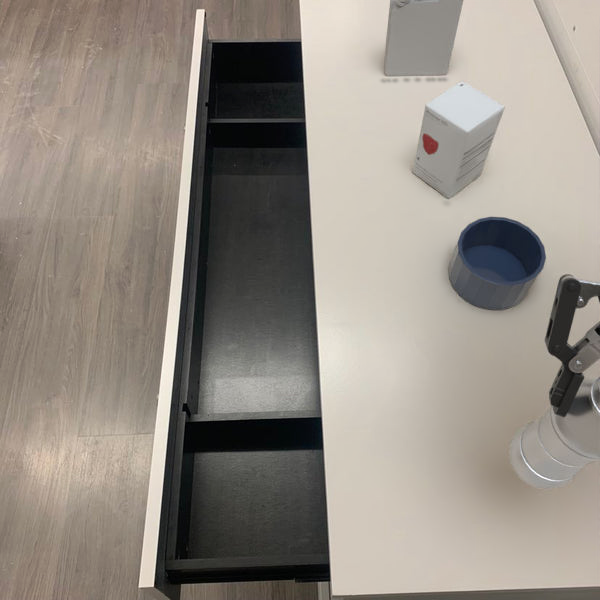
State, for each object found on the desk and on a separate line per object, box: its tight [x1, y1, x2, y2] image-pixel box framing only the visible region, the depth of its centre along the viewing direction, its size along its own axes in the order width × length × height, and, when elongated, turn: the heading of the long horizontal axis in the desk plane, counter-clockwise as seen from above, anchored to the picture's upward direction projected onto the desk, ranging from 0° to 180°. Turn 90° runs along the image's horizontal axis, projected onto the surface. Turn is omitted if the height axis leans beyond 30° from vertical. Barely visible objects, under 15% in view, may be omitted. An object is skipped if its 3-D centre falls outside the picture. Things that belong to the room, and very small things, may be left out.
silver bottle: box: [508, 376, 600, 490], centre depth 47 cm, size 6×7×20 cm
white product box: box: [412, 80, 506, 199], centre depth 89 cm, size 9×9×15 cm
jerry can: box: [383, 0, 464, 77], centre depth 100 cm, size 15×5×25 cm, turn 88°
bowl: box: [448, 216, 547, 311], centre depth 80 cm, size 12×12×7 cm
